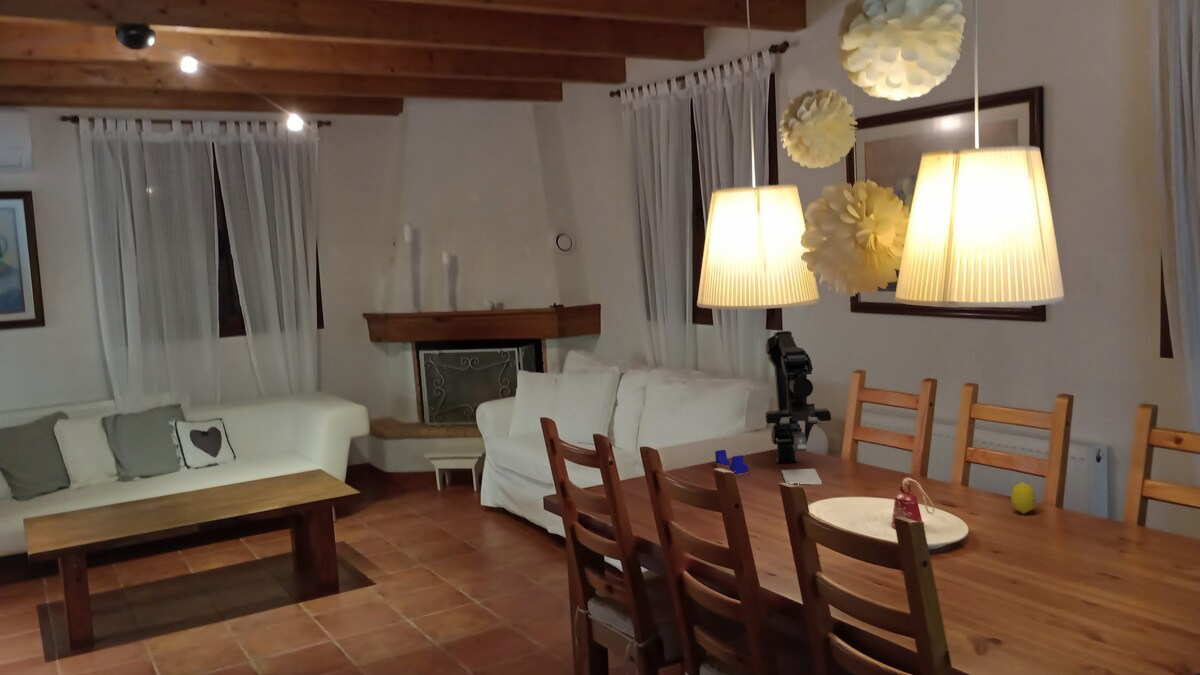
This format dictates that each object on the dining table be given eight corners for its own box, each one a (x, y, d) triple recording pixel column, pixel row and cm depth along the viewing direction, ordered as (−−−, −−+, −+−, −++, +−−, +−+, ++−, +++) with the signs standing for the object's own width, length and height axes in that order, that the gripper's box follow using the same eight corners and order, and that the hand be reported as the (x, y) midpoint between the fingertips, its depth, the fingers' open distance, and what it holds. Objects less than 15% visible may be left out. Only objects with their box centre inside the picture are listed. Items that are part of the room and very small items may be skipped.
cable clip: (748, 474, 292) (747, 455, 291) (735, 476, 290) (734, 457, 290) (728, 467, 303) (727, 449, 302) (716, 469, 301) (715, 451, 301)
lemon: (1022, 518, 229) (1021, 485, 228) (1006, 512, 234) (1005, 481, 233) (1041, 515, 230) (1040, 482, 230) (1025, 509, 236) (1024, 478, 235)
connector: (796, 453, 275) (795, 440, 274) (791, 444, 287) (791, 431, 287) (808, 453, 274) (807, 439, 274) (803, 444, 287) (802, 431, 286)
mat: (781, 472, 290) (781, 470, 290) (814, 471, 289) (814, 468, 289) (786, 485, 275) (786, 482, 275) (821, 484, 274) (821, 481, 274)
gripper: (766, 398, 274) (769, 451, 275) (832, 395, 272) (834, 448, 273) (764, 392, 285) (766, 443, 286) (827, 389, 283) (829, 441, 284)
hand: (799, 444), depth 282 cm, fingers closed on connector, 3 cm apart
